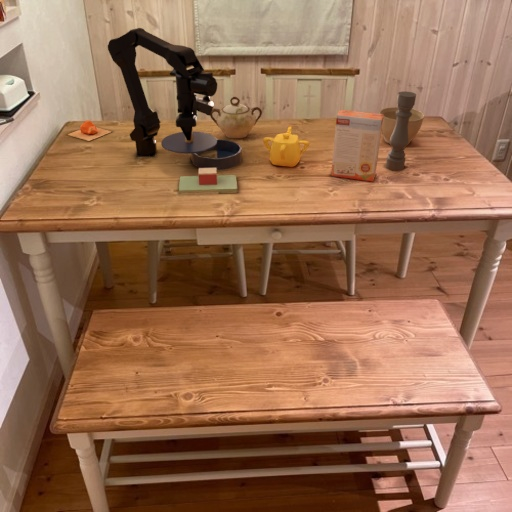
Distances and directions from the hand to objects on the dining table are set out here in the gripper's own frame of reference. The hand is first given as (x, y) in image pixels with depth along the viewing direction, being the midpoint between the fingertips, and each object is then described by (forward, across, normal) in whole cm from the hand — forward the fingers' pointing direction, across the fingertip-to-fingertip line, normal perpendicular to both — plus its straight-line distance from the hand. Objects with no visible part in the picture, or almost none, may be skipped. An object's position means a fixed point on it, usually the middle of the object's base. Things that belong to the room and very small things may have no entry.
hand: (189, 138), depth 171 cm
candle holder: (+10, -3, -70) cm, 71 cm away
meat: (+9, -15, -6) cm, 19 cm away
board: (+10, -15, -6) cm, 19 cm away
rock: (+10, +33, +41) cm, 53 cm away
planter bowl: (+10, +20, -77) cm, 81 cm away
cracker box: (+10, -9, -54) cm, 56 cm away
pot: (+10, +5, -9) cm, 14 cm away
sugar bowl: (+10, +29, -16) cm, 35 cm away
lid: (+1, 0, 0) cm, 1 cm away
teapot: (+10, +3, -33) cm, 34 cm away
